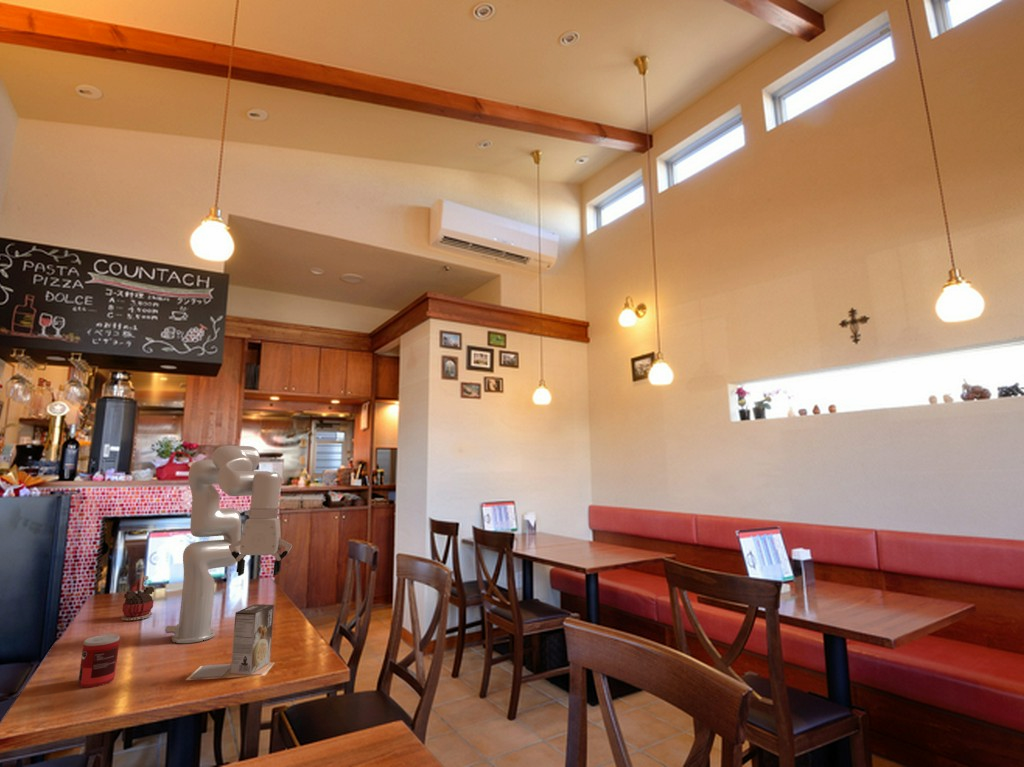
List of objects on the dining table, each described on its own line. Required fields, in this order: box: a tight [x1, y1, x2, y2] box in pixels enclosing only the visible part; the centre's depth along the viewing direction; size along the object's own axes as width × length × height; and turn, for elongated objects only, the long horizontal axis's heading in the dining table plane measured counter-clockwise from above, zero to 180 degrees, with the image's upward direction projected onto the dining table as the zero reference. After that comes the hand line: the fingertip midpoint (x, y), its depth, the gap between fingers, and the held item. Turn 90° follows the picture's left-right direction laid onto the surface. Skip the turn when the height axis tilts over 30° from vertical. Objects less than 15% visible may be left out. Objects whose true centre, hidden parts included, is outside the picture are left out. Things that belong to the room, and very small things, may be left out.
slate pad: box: [190, 663, 231, 680], centre depth 144 cm, size 8×9×1 cm
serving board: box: [185, 661, 276, 681], centre depth 145 cm, size 20×10×1 cm, turn 100°
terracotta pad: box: [230, 661, 271, 678], centre depth 146 cm, size 8×9×1 cm
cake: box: [120, 568, 155, 621], centre depth 200 cm, size 11×9×18 cm
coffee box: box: [230, 603, 275, 674], centre depth 147 cm, size 9×6×16 cm
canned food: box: [78, 633, 121, 688], centre depth 140 cm, size 8×8×11 cm
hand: (258, 574), depth 151 cm, fingers open, 9 cm apart
